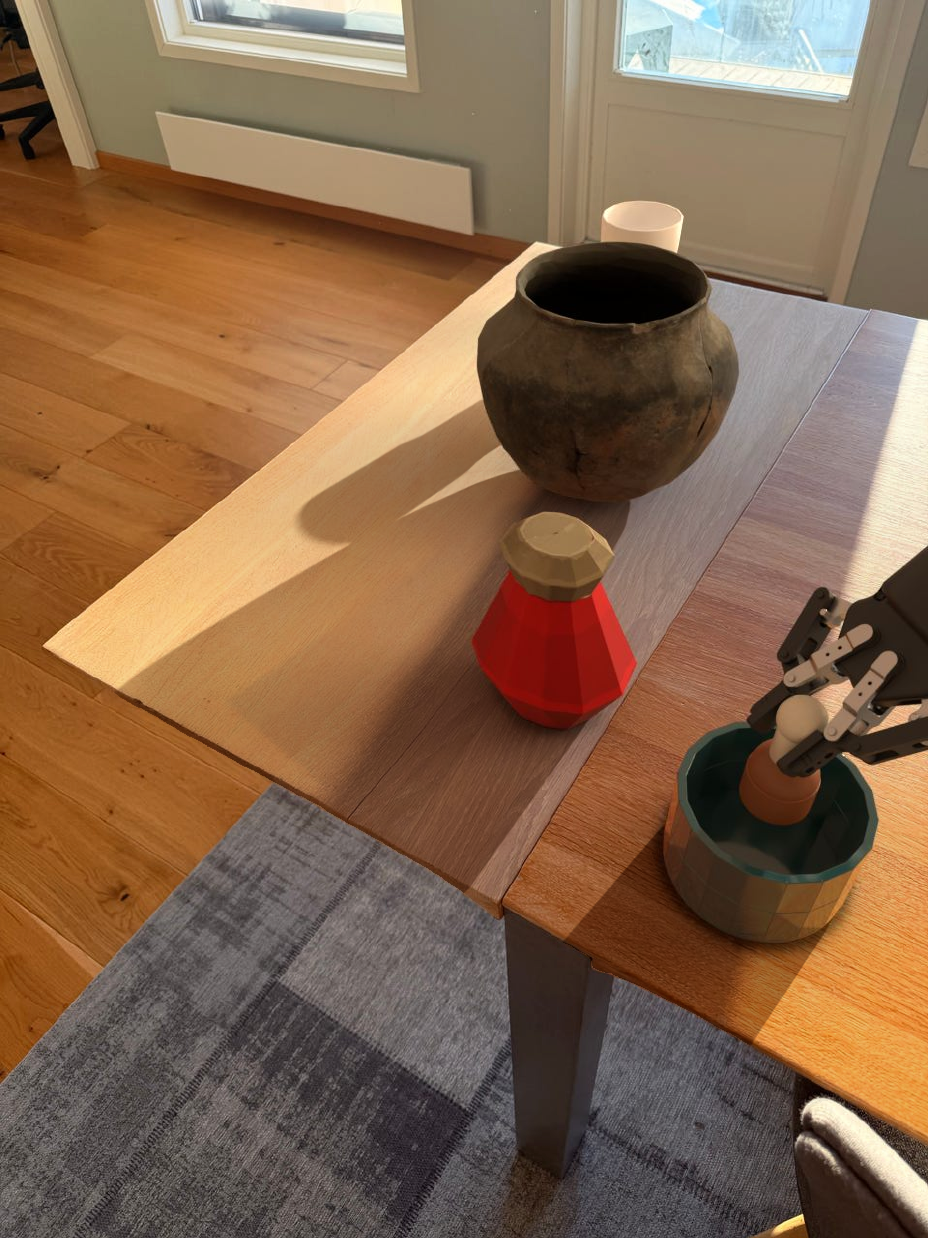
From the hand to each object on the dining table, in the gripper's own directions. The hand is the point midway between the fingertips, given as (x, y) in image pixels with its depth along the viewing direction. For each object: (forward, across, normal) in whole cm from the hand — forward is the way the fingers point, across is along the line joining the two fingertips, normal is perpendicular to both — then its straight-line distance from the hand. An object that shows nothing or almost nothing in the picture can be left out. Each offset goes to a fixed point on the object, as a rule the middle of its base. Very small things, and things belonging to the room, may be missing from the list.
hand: (770, 748), depth 63 cm
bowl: (+10, 0, +12) cm, 16 cm away
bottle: (+16, -22, +6) cm, 28 cm away
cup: (-10, -86, +33) cm, 93 cm away
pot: (+3, -53, +19) cm, 56 cm away
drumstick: (+3, 0, +6) cm, 7 cm away
